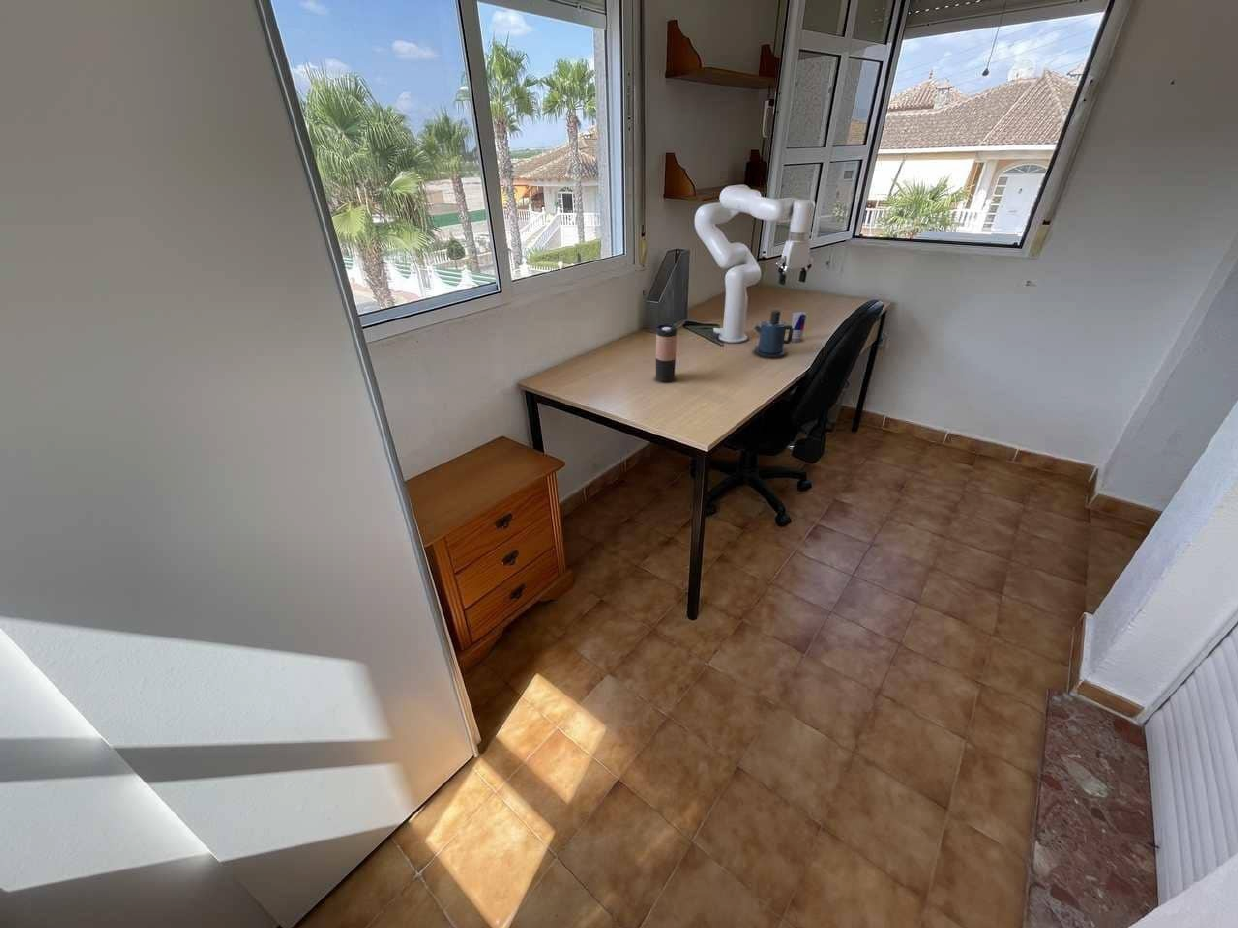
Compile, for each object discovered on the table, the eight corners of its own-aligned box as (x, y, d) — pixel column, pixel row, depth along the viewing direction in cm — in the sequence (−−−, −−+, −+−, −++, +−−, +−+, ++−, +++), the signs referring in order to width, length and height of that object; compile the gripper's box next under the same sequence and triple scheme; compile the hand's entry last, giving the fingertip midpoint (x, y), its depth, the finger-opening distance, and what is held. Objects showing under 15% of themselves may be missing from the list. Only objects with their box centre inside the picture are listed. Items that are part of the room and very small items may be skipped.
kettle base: (752, 356, 218) (752, 353, 217) (756, 346, 228) (756, 343, 227) (784, 360, 214) (785, 356, 213) (787, 349, 224) (787, 346, 223)
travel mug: (662, 373, 204) (664, 322, 193) (679, 378, 200) (681, 326, 189) (651, 379, 199) (652, 328, 188) (667, 384, 195) (669, 332, 184)
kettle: (750, 351, 218) (754, 313, 210) (753, 343, 226) (757, 306, 218) (789, 355, 214) (795, 316, 205) (791, 347, 222) (797, 309, 213)
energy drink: (801, 342, 231) (806, 315, 225) (789, 341, 232) (793, 315, 226) (800, 338, 236) (805, 312, 230) (788, 338, 237) (792, 311, 230)
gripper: (811, 233, 203) (803, 279, 212) (774, 236, 197) (767, 283, 207) (824, 236, 197) (815, 283, 206) (786, 240, 192) (779, 287, 201)
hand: (791, 283), depth 206 cm, fingers open, 9 cm apart
